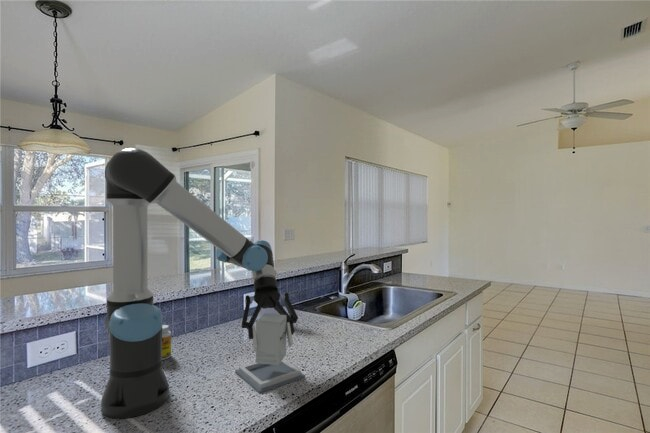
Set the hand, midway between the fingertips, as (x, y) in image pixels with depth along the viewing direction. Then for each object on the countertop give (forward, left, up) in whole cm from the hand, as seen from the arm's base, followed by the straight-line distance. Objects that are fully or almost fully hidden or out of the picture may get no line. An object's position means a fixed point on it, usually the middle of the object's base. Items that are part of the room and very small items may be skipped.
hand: (273, 346), depth 101 cm
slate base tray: (+1, +3, -9) cm, 10 cm away
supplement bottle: (-21, +35, -10) cm, 42 cm away
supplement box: (+1, +3, -5) cm, 6 cm away
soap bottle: (+25, +46, -10) cm, 53 cm away
